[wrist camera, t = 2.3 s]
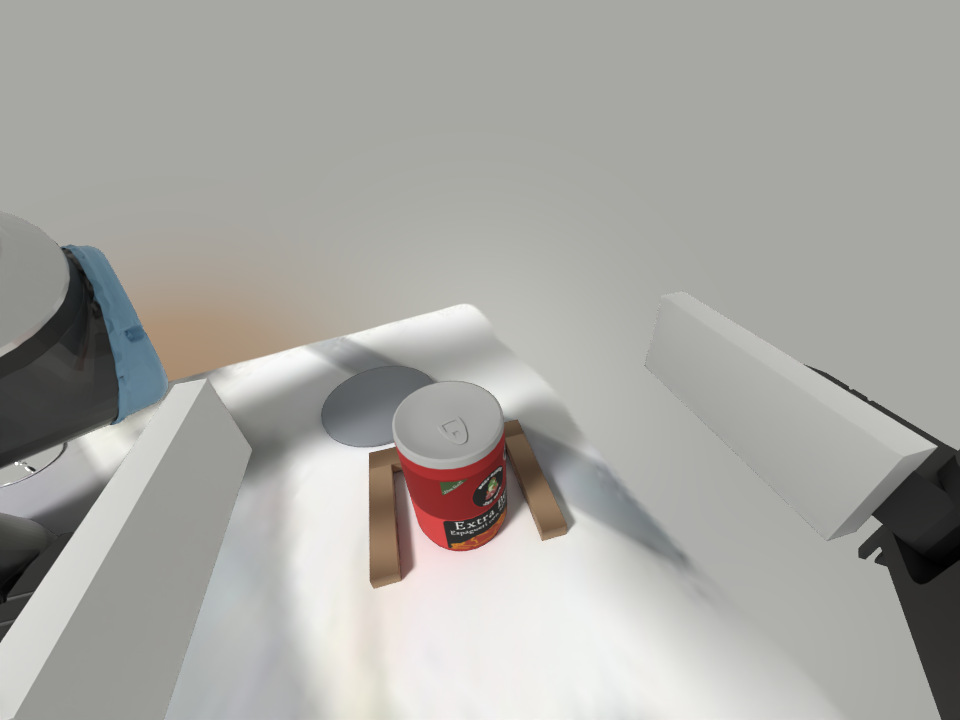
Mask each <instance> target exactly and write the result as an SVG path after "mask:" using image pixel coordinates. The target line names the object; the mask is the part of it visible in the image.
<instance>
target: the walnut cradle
mask: <svg viewBox="0 0 960 720" xmlns="http://www.w3.org/2000/svg"><path fill="white" fill-rule="evenodd" d="M504 429H505V448H506V450H507V453H508V455H509V458H510V461H511V463H512V466H513V468H514V471H515V473H516V476H517V478H518V481H519V483H520V486H521V488H522V491H523V493H524V496H525V498H526V501H527V503H528V506H529V509H530V511H531V514H532V516H533V519H534V521H535V524H536V526H537V529H538V531H539V534H540V536H541V539H542V541H544V540H547V539H551V538H554V537H558V536H561V535H565V534H566V531H567V524H566V522H565V520H564V518H563V516H562V513H561V511H560V509H559V507H558V505H557V503H556V501H555V499H554V496H553V494H552V492H551V490H550V488H549V486H548V484H547V481H546V479H545V477H544V475H543V473H542V471H541V469H540V466H539V464H538V462H537V460H536V458H535V456H534V454H533V452H532V449H531V447H530V445H529V443H528V441H527V439H526V437H525V434H524V432H523V430H522V428H521V426H520V424H519V422H518V419H517V420H513V421H509V422H504ZM398 471H402V466H401V463H400V460H399V456H398V453H397V449H396V447H394V448H389V449H385V450H380V451H376V452H371V453H369V535H370V583H371V585H372V586H373V588H378V587H381V586H385V585H388V584H392V583H396V582H399V581H401V570H400V556H399V542H398V528H397V514H396V500H395V486H394V472H398Z"/></svg>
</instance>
